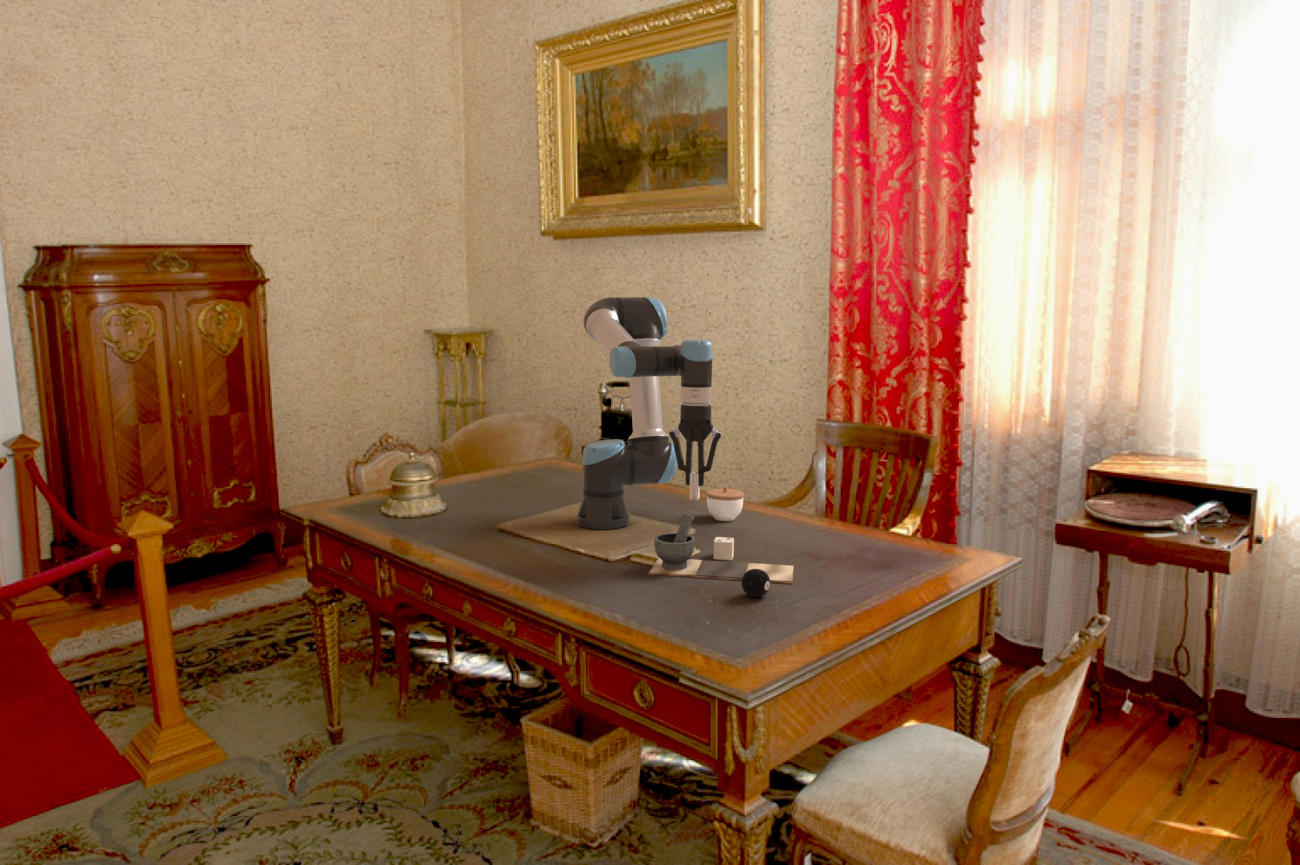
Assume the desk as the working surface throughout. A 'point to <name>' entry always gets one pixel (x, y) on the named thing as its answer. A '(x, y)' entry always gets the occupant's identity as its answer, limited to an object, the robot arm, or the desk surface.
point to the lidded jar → (725, 503)
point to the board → (726, 570)
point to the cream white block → (723, 548)
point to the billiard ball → (755, 583)
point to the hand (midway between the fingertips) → (694, 498)
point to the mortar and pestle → (676, 546)
